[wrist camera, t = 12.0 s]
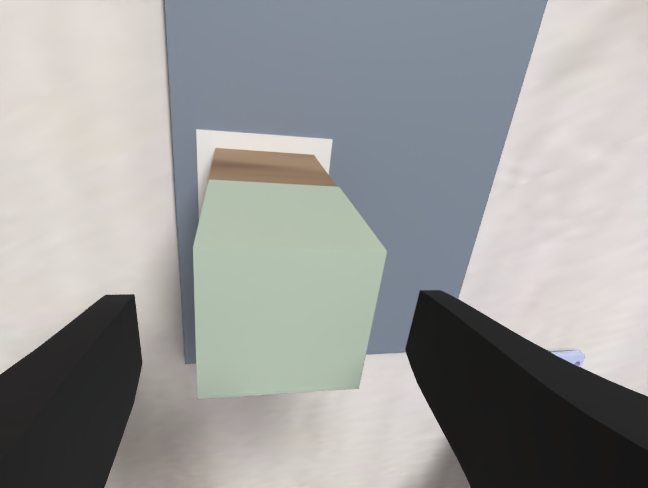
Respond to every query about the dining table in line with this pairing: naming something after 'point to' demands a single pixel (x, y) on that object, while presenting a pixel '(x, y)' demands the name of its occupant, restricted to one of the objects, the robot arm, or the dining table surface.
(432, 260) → the grey mat
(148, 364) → the dining table surface
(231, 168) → the walnut block
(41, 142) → the dining table surface
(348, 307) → the sage block
